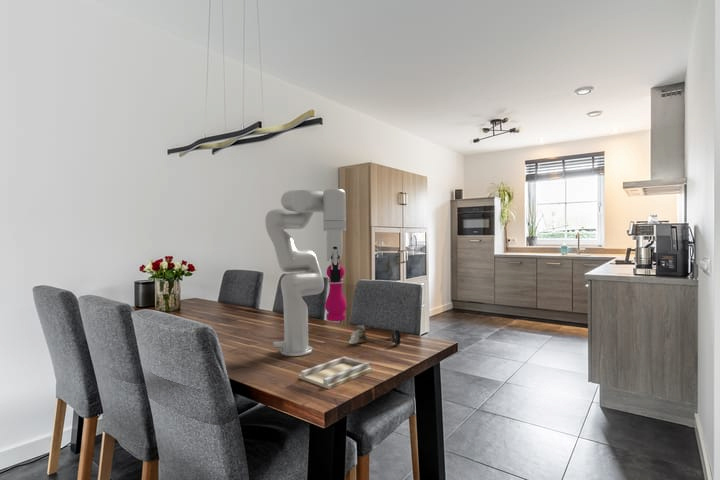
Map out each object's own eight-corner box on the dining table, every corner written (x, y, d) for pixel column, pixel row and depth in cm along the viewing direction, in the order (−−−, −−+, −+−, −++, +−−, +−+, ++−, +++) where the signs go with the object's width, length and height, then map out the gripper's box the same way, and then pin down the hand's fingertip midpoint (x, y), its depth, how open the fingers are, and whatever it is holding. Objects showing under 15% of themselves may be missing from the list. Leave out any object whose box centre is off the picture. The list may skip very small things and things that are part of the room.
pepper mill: (338, 322, 122) (338, 260, 122) (320, 320, 126) (320, 259, 126) (351, 318, 128) (350, 258, 128) (333, 316, 132) (332, 258, 132)
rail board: (329, 389, 115) (328, 380, 115) (299, 378, 124) (299, 370, 124) (371, 371, 130) (371, 363, 130) (342, 362, 139) (342, 355, 139)
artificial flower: (396, 352, 156) (390, 330, 154) (348, 351, 166) (342, 331, 164) (402, 340, 163) (397, 319, 161) (356, 341, 174) (351, 321, 172)
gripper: (324, 227, 135) (324, 278, 135) (322, 225, 118) (323, 284, 118) (345, 226, 136) (346, 277, 136) (347, 225, 118) (347, 283, 119)
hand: (335, 280), depth 127 cm, fingers closed on pepper mill, 5 cm apart
